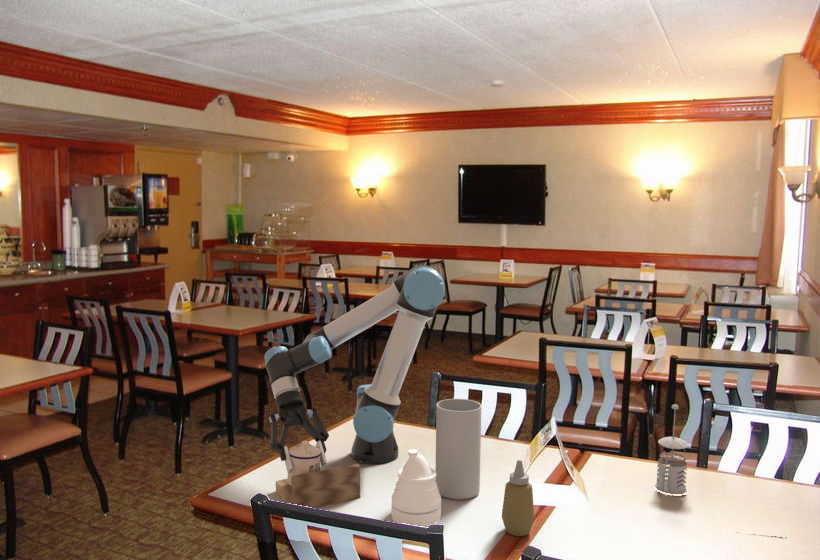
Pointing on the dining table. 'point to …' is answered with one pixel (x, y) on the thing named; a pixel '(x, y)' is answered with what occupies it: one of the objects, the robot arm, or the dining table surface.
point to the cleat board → (322, 487)
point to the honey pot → (416, 493)
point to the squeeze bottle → (518, 503)
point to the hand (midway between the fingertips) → (307, 467)
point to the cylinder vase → (458, 448)
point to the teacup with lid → (304, 459)
